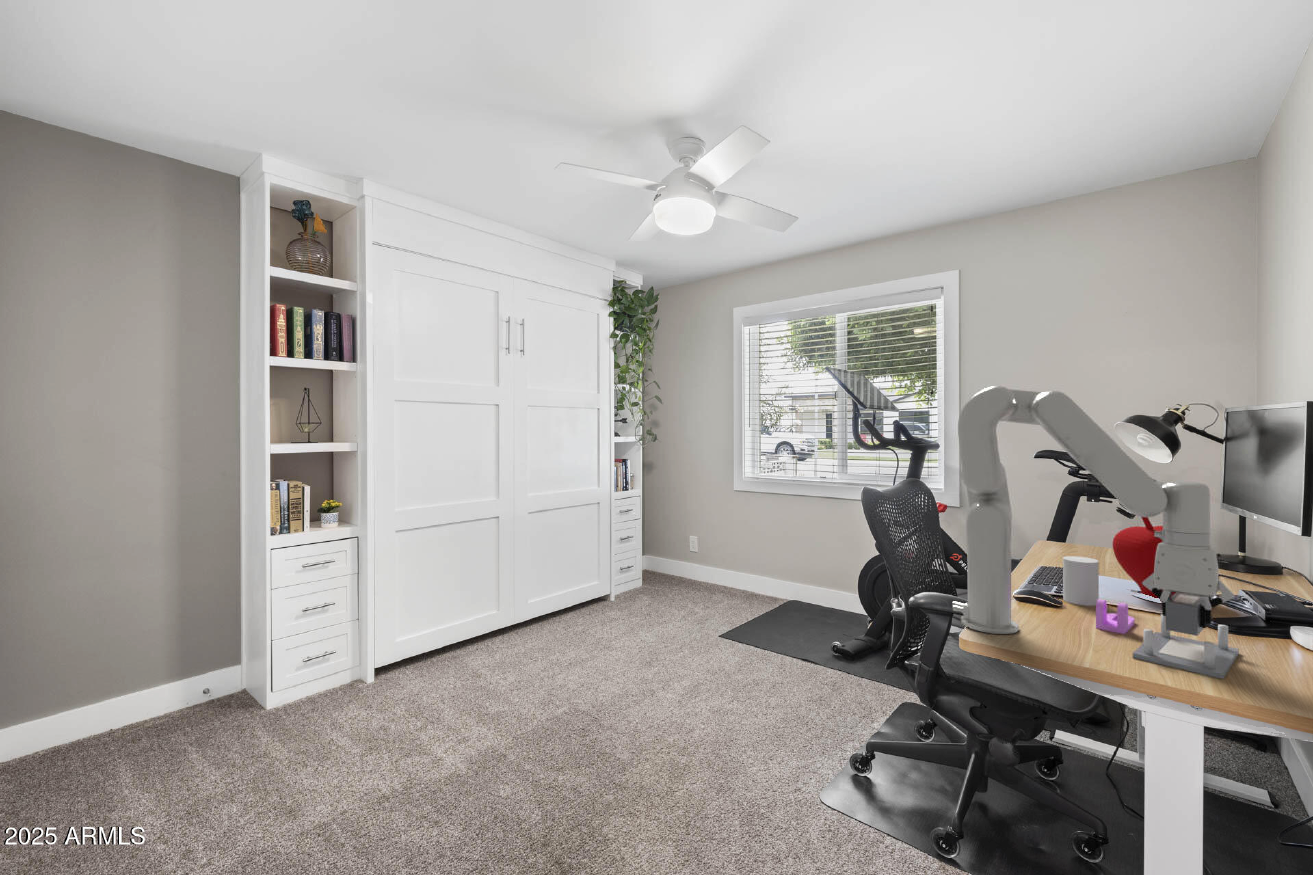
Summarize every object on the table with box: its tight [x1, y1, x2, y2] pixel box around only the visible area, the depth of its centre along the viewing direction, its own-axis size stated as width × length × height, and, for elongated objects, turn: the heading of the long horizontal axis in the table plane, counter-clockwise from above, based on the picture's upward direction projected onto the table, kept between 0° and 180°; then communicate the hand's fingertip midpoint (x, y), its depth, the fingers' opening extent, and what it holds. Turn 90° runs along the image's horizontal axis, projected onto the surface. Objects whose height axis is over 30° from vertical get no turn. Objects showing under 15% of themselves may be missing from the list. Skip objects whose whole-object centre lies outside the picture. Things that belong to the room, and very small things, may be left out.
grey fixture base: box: [1132, 613, 1240, 680], centre depth 125 cm, size 14×20×6 cm
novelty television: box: [1112, 517, 1176, 598], centre depth 165 cm, size 21×13×30 cm, turn 94°
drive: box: [1166, 592, 1204, 637], centre depth 125 cm, size 5×11×6 cm, turn 129°
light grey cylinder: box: [1062, 555, 1100, 607], centre depth 165 cm, size 8×8×12 cm
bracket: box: [1095, 598, 1135, 635], centre depth 145 cm, size 13×6×7 cm, turn 130°
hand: (1186, 622), depth 125 cm, fingers closed on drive, 5 cm apart
